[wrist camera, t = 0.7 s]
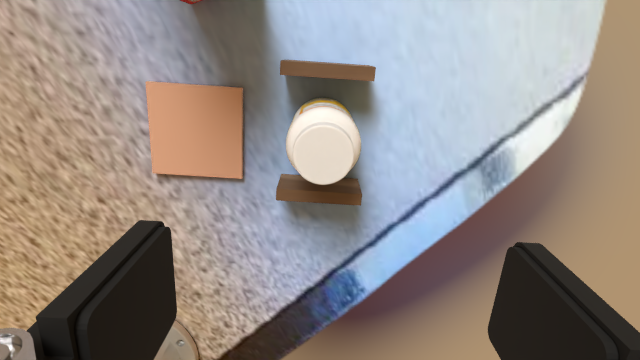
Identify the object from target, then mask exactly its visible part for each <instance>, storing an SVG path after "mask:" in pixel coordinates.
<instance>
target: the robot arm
mask: <svg viewBox="0 0 640 360" xmlns="http://www.w3.org/2000/svg"><path fill="white" fill-rule="evenodd" d="M176 313H177V305H176V292H175V278H174V265H173V252H172V239H171V230H170V228H169V227H165V226H164V223H163V222H161V221H144V220H140V221H138V222H137V223H136V224H135V225H134V226H133V227H132V228H131V229H130V230H128V231H127V232H126V233H125V234H124V235H123V236H122V237H121V238H120V239H119V240H118V241H117V242H116V243H114V244H113V245H112V246H111V247H110V248H109V249H108V250H107V251H106V252H105V253H104V254H103V255H102V256H101V257H99V258H98V259H97V260H96V261H95V262H94V263H93V264H92V265H91V266H90V267H89V268H88V269H87V270H85V271H84V272H83V273H82V274H81V275H80V276H79V277H78V278H77V279H76V280H75V281H74V282H73V283H71V284H70V285H69V286H68V287H67V288H66V289H65V290H64V291H63V292H62V293H61V294H60V295H59V296H58V297H56V298H55V299H54V300H53V301H52V302H51V303H50V304H49V305H48V306H47V307H46V308H45V309H44V310H42V311H41V312H40V313H39V314H38V315H37V316H36V320H37V322H35V323H34V324H33V325H32V326H31V327H30V328H29V329H28V330H27V331H25V330H23V329H17V328H4V329H0V360H199V356H198V351H197V347H196V344H195V343H194V341H193V339H192V337H191V336H190V334H189V333H188V332H187V331H186V329H185V328H184V327H183V326H181V325H180V324H179V323H178V322H177V321H175V318H176ZM488 335H489V339H490V341H491V343H492V345H493V346H494V348H495V350H496V351H497V353H498V355H499V357H500V359H501V360H640V333H639V332H638V331H637V330H636V329H635V328H634V327H633V326H632V325H630V324H629V323H628V322H627V321H626V320H625V319H624V318H623V317H622V316H620V315H619V314H618V313H617V312H616V311H615V310H614V309H613V308H612V307H610V306H609V305H608V304H607V303H606V302H605V301H604V300H603V299H602V298H600V297H599V296H598V295H597V294H596V293H595V292H594V291H593V290H592V289H590V288H589V287H588V286H587V285H586V284H585V283H584V282H583V281H582V280H580V279H579V278H578V277H577V276H576V275H575V274H574V273H573V272H572V271H570V270H569V269H568V268H567V267H566V266H565V265H564V264H563V263H561V262H560V261H559V260H558V259H557V258H556V257H555V256H554V255H553V254H551V253H550V252H549V251H548V250H547V249H546V248H545V247H544V246H543V245H541V244H539V243H522V242H517V243H516V244H515V245H514V246H513V247H510V248H509V249H508V250H507V253H506V257H505V261H504V265H503V269H502V273H501V278H500V281H499V285H498V289H497V293H496V297H495V301H494V306H493V309H492V313H491V317H490V321H489V326H488Z"/></svg>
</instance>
